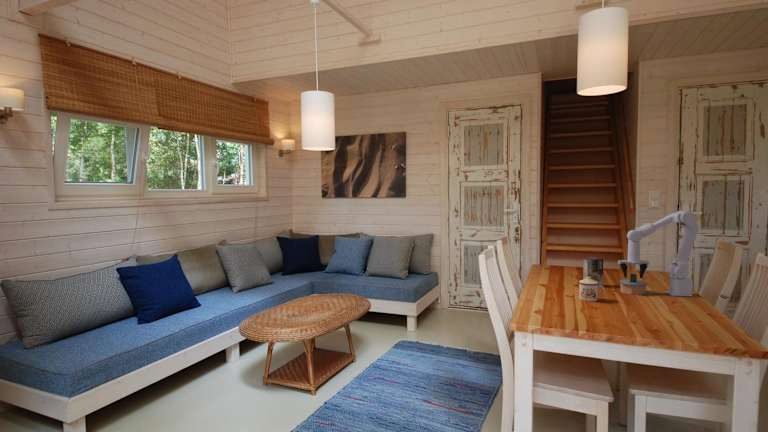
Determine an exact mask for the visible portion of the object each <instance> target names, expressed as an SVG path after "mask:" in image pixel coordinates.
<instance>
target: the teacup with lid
mask: <svg viewBox="0 0 768 432" xmlns="http://www.w3.org/2000/svg"><path fill="white" fill-rule="evenodd" d="M598 284H599V283H598V282H597V281H594V280H593V279H591V277H587V278H586V279H583V278H582V279H581V280H579V281H578V285H579V287H578V298H579V300H581V301H585V302H597V301H598V300H599V297H601V296H604V294H605V292H606V289H605V287H604V286H603V287H602V286H598ZM600 288H601V289H603V291H602V292H601V293H599V289H600Z"/></svg>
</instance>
